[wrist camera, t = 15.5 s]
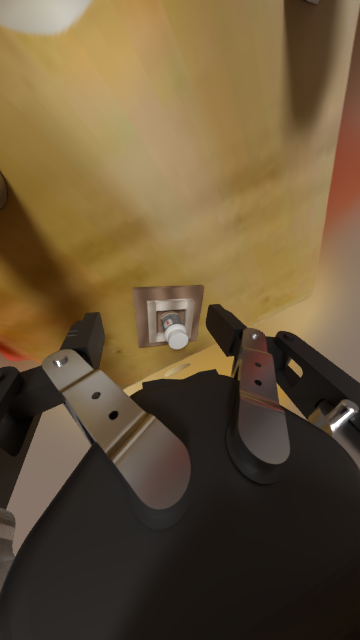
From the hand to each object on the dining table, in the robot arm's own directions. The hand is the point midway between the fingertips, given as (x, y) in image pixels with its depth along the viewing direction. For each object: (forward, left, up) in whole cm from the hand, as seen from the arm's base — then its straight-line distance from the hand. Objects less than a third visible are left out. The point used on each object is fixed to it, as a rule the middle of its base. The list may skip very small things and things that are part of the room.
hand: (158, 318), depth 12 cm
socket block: (+7, -17, -28) cm, 34 cm away
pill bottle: (+7, -17, -27) cm, 32 cm away
